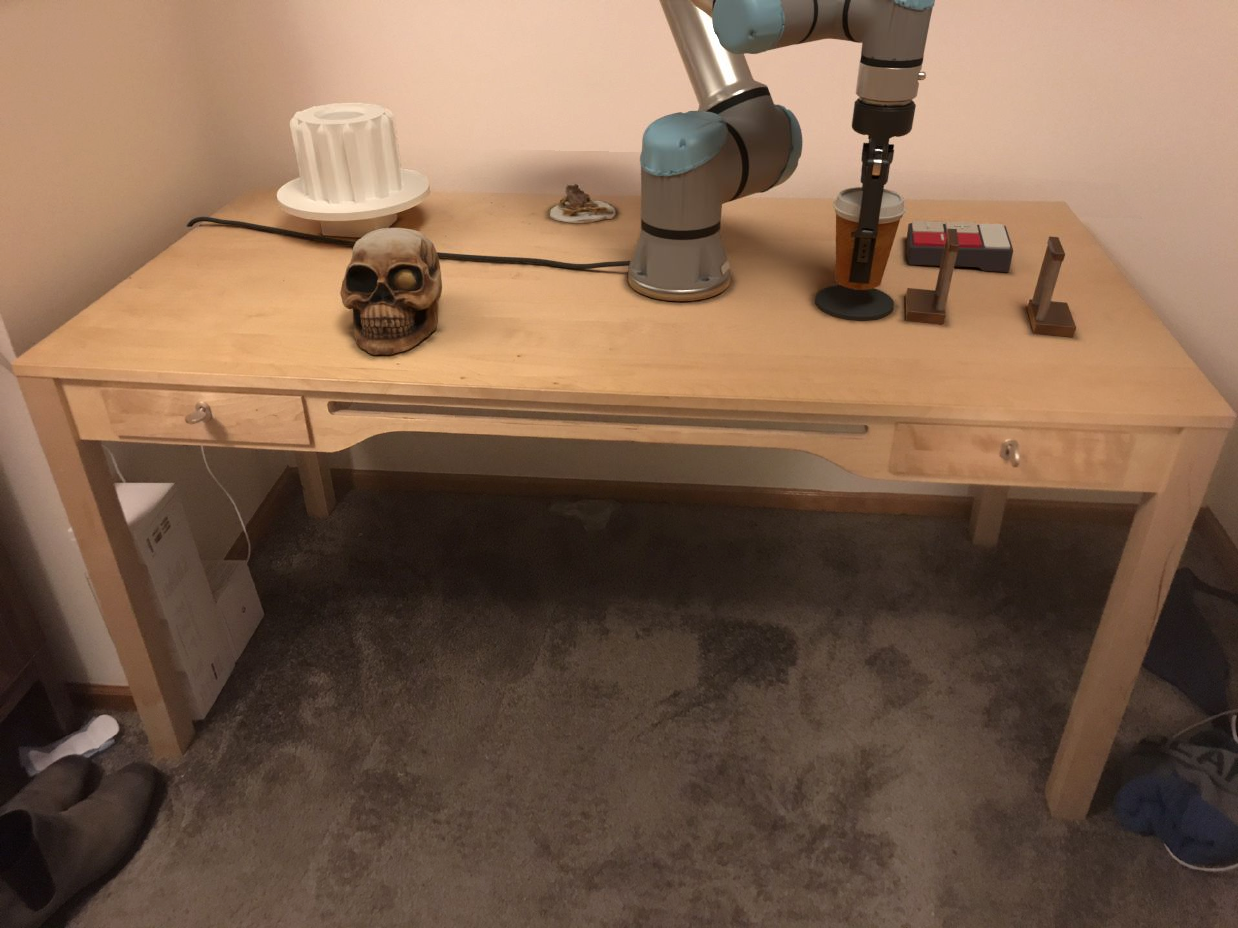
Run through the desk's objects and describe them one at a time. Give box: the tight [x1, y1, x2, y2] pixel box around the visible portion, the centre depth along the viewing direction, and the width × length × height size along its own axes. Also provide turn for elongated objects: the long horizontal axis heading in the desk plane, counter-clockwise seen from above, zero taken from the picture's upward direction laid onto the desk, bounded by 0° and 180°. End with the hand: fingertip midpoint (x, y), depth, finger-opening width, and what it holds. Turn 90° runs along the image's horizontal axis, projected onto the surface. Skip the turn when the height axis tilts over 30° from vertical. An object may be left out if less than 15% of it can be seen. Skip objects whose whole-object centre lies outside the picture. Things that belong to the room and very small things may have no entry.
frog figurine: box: [549, 183, 616, 224], centre depth 160 cm, size 12×12×4 cm
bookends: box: [905, 229, 1077, 338], centre depth 122 cm, size 22×8×11 cm, turn 76°
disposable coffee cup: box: [832, 186, 907, 290], centre depth 124 cm, size 10×10×12 cm
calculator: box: [906, 220, 1014, 273], centre depth 142 cm, size 11×4×15 cm
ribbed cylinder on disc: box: [276, 101, 431, 239], centre depth 150 cm, size 25×25×19 cm
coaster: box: [814, 284, 895, 321], centre depth 129 cm, size 11×11×1 cm
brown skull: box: [339, 227, 443, 356], centre depth 122 cm, size 16×17×13 cm
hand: (859, 269), depth 126 cm, fingers closed on disposable coffee cup, 8 cm apart
